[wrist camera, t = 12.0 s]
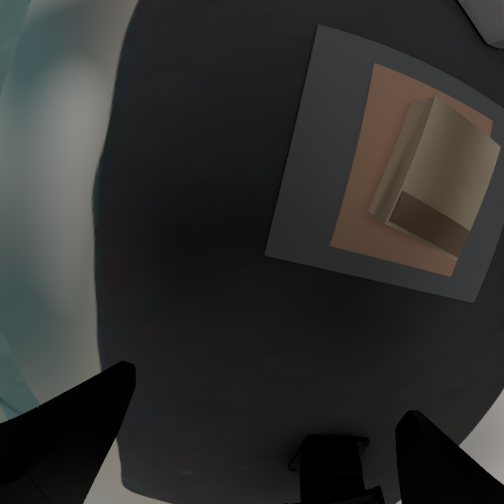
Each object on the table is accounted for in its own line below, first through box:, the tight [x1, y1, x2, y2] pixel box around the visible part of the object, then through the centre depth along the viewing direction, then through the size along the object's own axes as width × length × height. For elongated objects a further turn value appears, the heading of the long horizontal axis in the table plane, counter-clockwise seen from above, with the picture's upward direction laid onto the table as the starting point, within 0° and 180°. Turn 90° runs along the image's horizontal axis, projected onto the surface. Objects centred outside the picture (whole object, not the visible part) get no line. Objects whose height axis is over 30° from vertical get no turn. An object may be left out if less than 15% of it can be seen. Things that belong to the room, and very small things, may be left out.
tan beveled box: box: [368, 96, 501, 261], centre depth 14 cm, size 5×7×3 cm
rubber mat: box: [265, 24, 504, 303], centre depth 16 cm, size 14×16×1 cm
